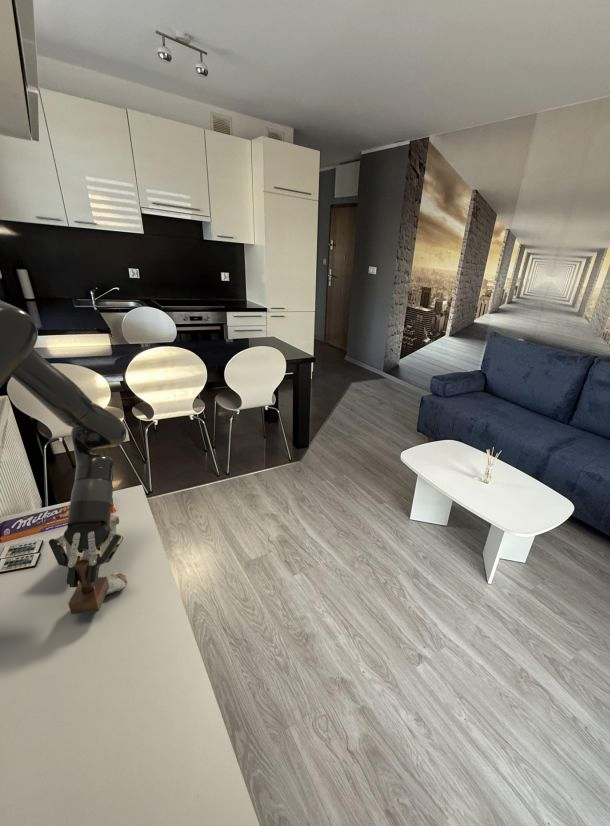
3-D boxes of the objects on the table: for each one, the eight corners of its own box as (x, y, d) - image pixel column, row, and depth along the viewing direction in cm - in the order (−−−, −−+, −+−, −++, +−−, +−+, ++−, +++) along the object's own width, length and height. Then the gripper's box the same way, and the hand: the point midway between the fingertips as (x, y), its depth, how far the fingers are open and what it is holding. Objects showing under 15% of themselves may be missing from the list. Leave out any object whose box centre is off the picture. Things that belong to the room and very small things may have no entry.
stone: (80, 609, 86) (78, 600, 84) (76, 588, 91) (73, 579, 89) (130, 591, 91) (128, 582, 90) (123, 572, 96) (122, 563, 95)
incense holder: (99, 570, 96) (91, 535, 92) (67, 565, 97) (57, 531, 92) (125, 545, 105) (119, 512, 101) (96, 541, 106) (88, 508, 101)
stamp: (71, 614, 81) (60, 576, 77) (83, 589, 87) (74, 553, 83) (99, 611, 82) (89, 574, 78) (109, 586, 88) (101, 551, 84)
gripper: (45, 500, 81) (32, 590, 75) (121, 496, 84) (114, 581, 79) (62, 508, 88) (50, 590, 82) (132, 504, 91) (125, 583, 85)
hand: (82, 585), depth 80 cm, fingers closed on stamp, 2 cm apart
